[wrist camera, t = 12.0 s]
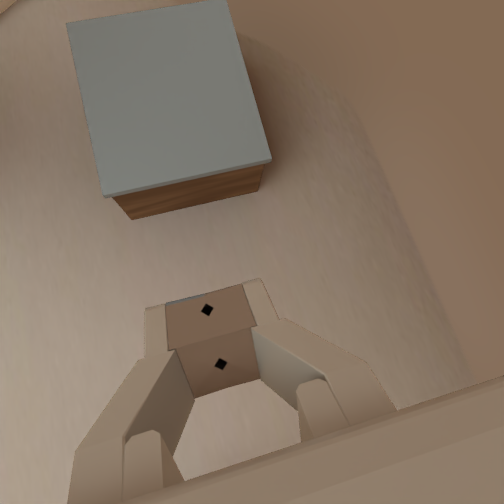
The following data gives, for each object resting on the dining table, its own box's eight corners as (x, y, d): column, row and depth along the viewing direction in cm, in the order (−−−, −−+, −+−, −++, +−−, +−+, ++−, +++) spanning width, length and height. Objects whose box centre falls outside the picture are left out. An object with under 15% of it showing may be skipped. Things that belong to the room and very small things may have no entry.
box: (257, 191, 41) (265, 160, 34) (131, 220, 40) (109, 194, 32) (222, 67, 44) (222, 11, 36) (103, 88, 42) (75, 35, 34)
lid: (270, 162, 34) (272, 158, 33) (105, 198, 32) (102, 195, 31) (225, 4, 36) (225, -3, 35) (69, 29, 34) (65, 23, 33)
